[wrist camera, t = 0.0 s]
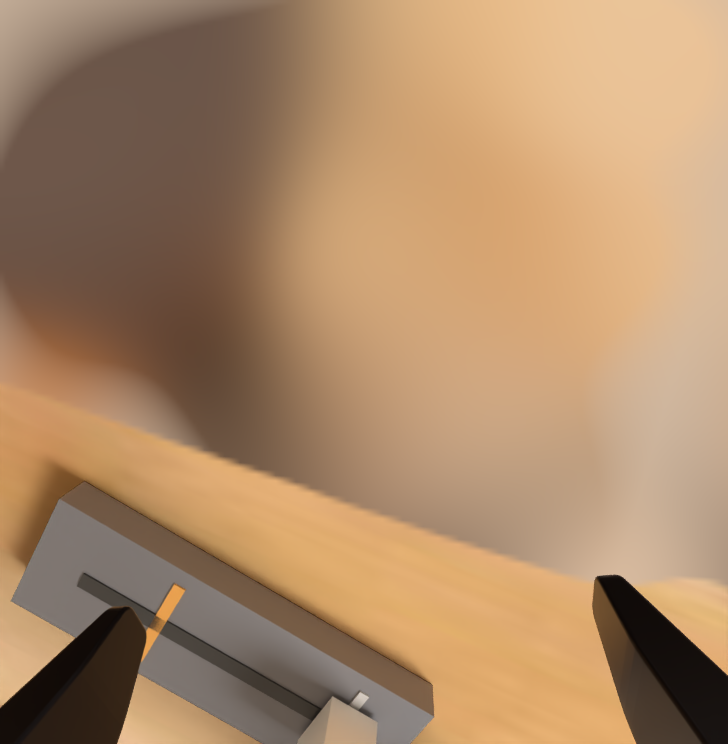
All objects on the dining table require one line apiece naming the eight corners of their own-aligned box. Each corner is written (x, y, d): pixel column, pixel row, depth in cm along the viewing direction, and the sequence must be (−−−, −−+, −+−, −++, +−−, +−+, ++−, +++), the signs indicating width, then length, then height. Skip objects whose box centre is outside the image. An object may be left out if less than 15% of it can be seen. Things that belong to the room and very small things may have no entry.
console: (363, 764, 30) (360, 800, 28) (37, 578, 29) (9, 602, 27) (432, 684, 28) (434, 718, 26) (84, 481, 27) (57, 499, 25)
